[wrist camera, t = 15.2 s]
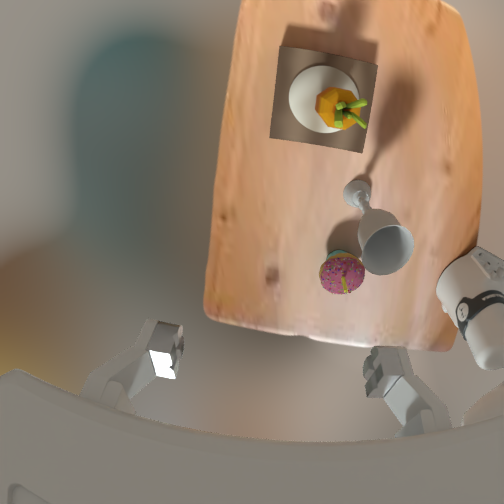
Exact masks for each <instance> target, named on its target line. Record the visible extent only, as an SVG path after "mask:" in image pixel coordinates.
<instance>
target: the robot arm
mask: <svg viewBox="0 0 504 504" xmlns="http://www.w3.org/2000/svg"><path fill="white" fill-rule="evenodd" d="M436 293H437V297H438V298H439V300H440V301H441V302H442V309H443V311H444V312H448V314H449V315H450V317H451V319H452V320H453V322H454V323H455V325H456V326H457V327H458V328H459V330H460V333H461V335H462V336H463V338H464V339H465V340H466V341H467V342H468V344H469V346H470V349H471V351H472V353H473V356H474V358H475V360H476V363H477V364H478V365H479V366H480V367H481V368H483V369H486V370H497V369H501V368H504V260H502V259H500V258H498V257H497V256H495V255H493V254H492V253H490V252H488V251H486V250H484V249H482V248H481V247H479V246H477V247H475V248H473V249H472V250H471V251H470V252H469V253H468V254H467V255H465V256H463V257H460V258H459V259H457V260H455V261H454V262H453V263H451V264H450V265H449V266H448V267H447V268H446V269H445V271H444V272H443V273H442V275H441V277H440V278H439V281H438V283H437V288H436ZM182 333H183V327H182V326H181V325H177V324H171V323H167V322H162V321H158V320H153V319H147V320H146V321H145V323H144V326H143V328H142V330H141V332H140V334H139V336H138V338H137V341H136V343H135V345H134V347H129V348H127V349H126V350H124V351H123V352H121V353H120V354H118V355H117V356H115V357H114V358H112V359H110V360H109V361H107V362H106V363H104V364H103V365H102V366H100V367H98V368H97V369H95V370H94V371H92V372H90V374H89V376H88V378H87V381H86V383H85V385H84V387H83V389H82V391H81V393H80V395H79V396H78V395H75V394H73V393H71V392H68V391H66V390H63V389H61V388H59V387H56V386H54V385H52V384H50V383H48V382H45V381H43V380H41V379H39V378H37V377H35V376H33V375H31V374H29V373H27V372H25V371H23V370H20V369H14V370H12V371H9V372H7V373H6V374H4V375H2V376H0V504H504V381H503V382H502V383H501V384H499V385H498V386H497V387H495V388H494V389H492V390H491V391H490V392H488V393H487V394H485V395H484V396H483V397H482V398H480V399H479V400H478V401H477V402H476V403H475V404H474V405H473V406H471V408H469V409H468V410H467V411H466V412H465V413H464V415H463V418H462V422H461V426H460V427H456V428H452V424H451V420H450V417H449V413H448V409H447V406H446V405H445V404H444V403H443V402H442V401H441V400H440V399H439V398H438V396H437V395H435V393H433V391H432V390H430V388H429V387H428V386H427V385H426V384H425V383H424V382H423V381H422V380H421V379H420V378H419V377H418V376H417V375H414V373H413V369H412V366H411V362H410V359H409V356H408V353H407V349H406V348H405V347H401V346H374V347H373V348H372V349H371V355H370V356H368V357H367V358H366V360H365V361H364V365H363V376H364V378H365V379H366V380H367V383H366V385H365V388H366V395H367V397H368V398H383V399H384V400H385V402H386V403H387V404H388V406H389V407H390V409H391V410H392V411H393V413H394V414H395V415H396V417H397V418H398V420H399V421H400V423H401V424H402V425H403V427H402V428H401V429H400V430H399V431H398V432H397V433H396V434H395V438H388V439H377V440H364V441H343V442H341V441H340V442H305V441H304V442H303V441H283V440H269V439H258V438H248V437H240V436H232V435H225V434H219V433H212V432H206V431H201V430H195V429H190V428H186V427H181V426H176V425H172V424H167V423H163V422H159V421H155V420H152V419H148V418H144V417H140V416H137V415H135V414H136V411H135V409H134V407H133V405H132V403H131V402H130V399H131V398H132V397H133V396H135V395H136V394H137V393H138V392H139V391H140V390H142V389H143V388H144V387H145V386H146V385H147V384H148V383H150V382H151V381H152V380H153V379H154V378H155V377H156V376H162V377H166V378H172V379H175V378H176V374H177V371H178V368H179V364H178V360H180V359H181V358H182V355H183V350H184V338H183V336H182Z"/></svg>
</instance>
